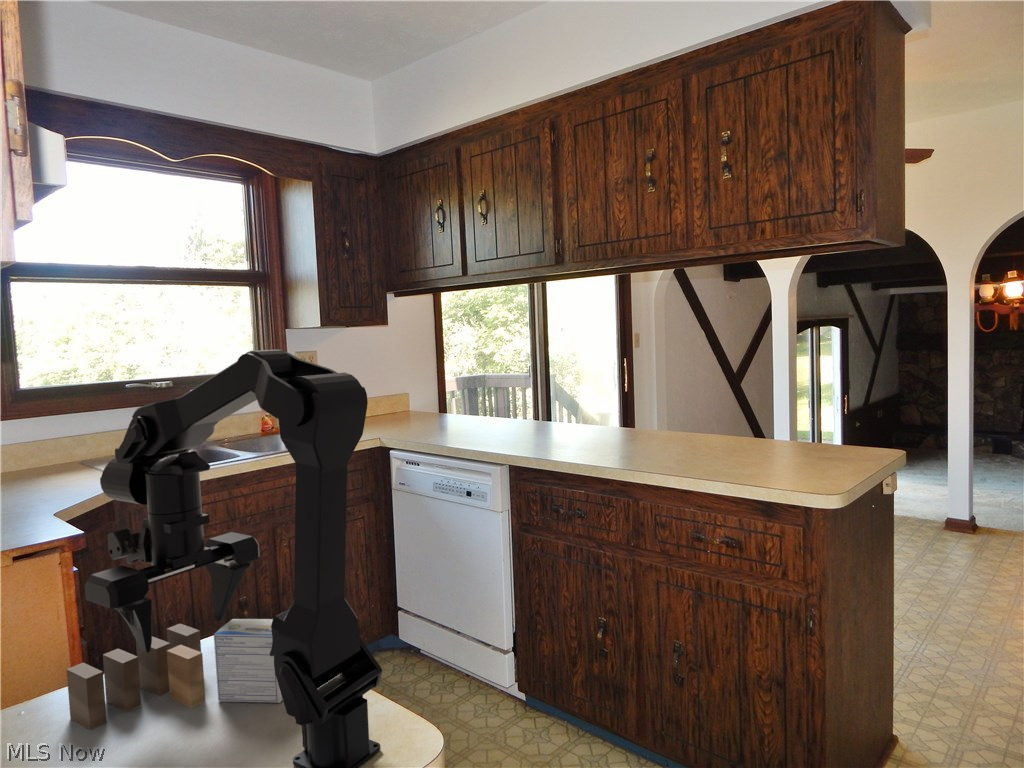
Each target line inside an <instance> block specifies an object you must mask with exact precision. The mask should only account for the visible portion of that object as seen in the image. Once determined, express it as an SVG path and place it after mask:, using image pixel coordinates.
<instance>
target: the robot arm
mask: <svg viewBox="0 0 1024 768" xmlns="http://www.w3.org/2000/svg"><path fill="white" fill-rule="evenodd" d="M255 401H257V402H258V403H257V404H258V406H259V408H260V409H261V410H263V411H265V412H266V413H268V414H269V415H271V416H273V417H274V418H275V419H277V420H278V428H279V436H280V437H279V438H280V440H281V442H282V443H283V445H284V446H285V448H286V450H287V451H288V453H289V455H290V456H291V458H292V460H293V461H294V463H295V507H294V509H295V513H294V515H295V516H294V517H295V518H294V571H293V572H294V574H293V575H294V577H293V578H294V581H293V586H294V587H293V602H292V603H291V606H290V607H289V609H288V610H287V609H286V610H285V611H283V612H280V613H279V614H277V615H275V616H273V618H272V619H273V621H272V625H271V630H272V648H271V651H270V656H274V669H275V674H276V678H277V681H278V685H279V688H280V691H281V695H282V698H283V700H282V701H283V704H284V707H285V711H286V714H287V715H288V716H290V717H293V718H294V719H295V724H296V725H300V726H301V735H302V736H301V737H302V747H303V748H304V750H302V751H301V752H300V753H298V754H297V755H294V757H293V758H292V764H293V766H295V767H298V768H360V766H362V765H363V764H364V763H366V762H368V760H369V759H371V758H372V757H373V756H375V755H376V754H378V752H380V751H381V749H382V748H381V744H380V743H379V742H377V741H375V740H372V739H370V733H369V732H370V731H369V730H370V729H369V726H370V725H369V709H368V708H369V705H368V698H365V697H364V695H365V694H367V693H368V692H369V691H371V690H373V689H374V688H377V687H378V686H379V685H380V681H381V678H382V674H383V669H382V667H381V666H380V664H379V662H378V661H377V660H376V659H375V657H374V655H373V654H372V652H371V651H370V650H369V648H368V647H367V646H366V644H365V643H364V641H363V640H362V638H361V637H360V629H359V620H358V616H357V614H356V613H355V611H354V610H353V608H352V607H351V605H350V604H349V602H348V601H347V599H346V597H345V581H346V580H345V579H346V578H345V575H346V573H345V572H346V540H347V539H346V538H347V537H346V535H347V534H346V533H347V503H348V502H347V499H348V498H347V497H348V495H347V494H348V491H347V490H348V467H349V466H348V465H349V460H350V459H351V457H352V455H353V453H354V451H355V449H356V448H357V447H358V446H357V445H358V444H359V442H360V440H361V438H362V436H363V434H364V429H365V424H366V417H367V412H368V411H367V410H368V403H369V402H368V393H367V391H366V387H364V386H362V384H361V382H360V381H359V380H358V379H357V378H356V377H355V376H354V375H352V374H351V373H348V372H337V371H335V370H334V369H331V368H328V367H326V366H322V365H319V364H316V363H314V362H310V361H307V360H305V359H300V358H299V357H297V356H295V355H294V354H292V353H290V352H287V351H285V350H283V349H262V350H261V349H260V350H259V349H258V350H249V351H247V352H245V353H244V354H241V355H240V356H239V357H238V358H237V360H236V362H233V363H232V364H230V365H229V366H227V367H226V368H224V369H222V370H221V371H219V372H218V373H216V374H215V375H213V376H211V377H210V378H208V379H206V380H205V381H203V382H202V383H200V384H199V385H197V386H196V387H194V388H192V389H190V390H189V391H188V392H185V393H184V394H183V395H181V396H177V397H174V398H168V399H163V400H160V401H159V400H158V401H155V402H151V403H148V404H145V405H142V406H140V407H138V408H136V410H135V411H134V412H133V414H132V416H131V417H132V418H131V420H130V422H129V423H128V427H127V430H126V432H125V435H124V438H123V441H122V442H121V444H120V446H119V447H116V448H115V449H114V458H112V459H111V460H110V461H109V462H108V463H107V464H106V465H105V466H104V469H103V471H102V472H101V476H100V478H99V481H100V482H99V484H100V488H101V490H102V491H103V493H104V495H105V496H106V497H108V498H109V499H112V500H115V501H119V502H126V503H131V504H136V505H142V506H145V505H146V506H147V517H145V518H142V519H141V521H142V522H140V523H141V524H140V525H141V531H139V532H135V533H132V532H131V529H129V528H123V529H120V530H116V531H112V532H110V533H108V534H107V550H108V554H109V557H110V558H111V560H113V561H114V560H118V559H121V558H126V562H127V564H128V565H129V564H133V563H136V562H138V560H139V563H142V564H149V563H150V564H151V565H150V566H147V567H143V568H140V569H137V568H136V569H135V568H132V567H128V566H126V565H118V566H115V567H112V568H109V569H105V570H102V571H99V572H98V571H97V572H94V573H92V574H90V575H89V577H88V579H87V580H86V583H85V584H84V596H85V601H88V602H90V603H93V604H96V605H99V606H101V607H104V608H107V609H110V610H112V609H114V610H116V611H117V612H119V613H120V615H121V616H122V618H123V619H124V621H125V622H126V624H127V625H128V627H129V629H130V631H131V633H132V635H133V637H134V639H135V642H136V641H137V643H138V644H139V646H140V648H141V650H142V651H143V652H145V653H148V652H150V650H151V643H152V636H153V599H152V598H148V597H145V596H146V595H147V594H148V592H149V591H150V587H149V585H151V584H154V583H157V582H159V581H163V580H166V579H168V578H172V577H175V576H177V575H181V574H183V573H186V572H189V571H193V570H195V569H199V568H202V567H204V566H205V567H206V570H207V571H208V574H209V576H210V587H211V603H212V604H211V606H212V607H211V608H212V615H213V619H214V621H215V622H216V623H221V622H223V621H224V620H223V619H224V617H225V615H226V612H227V611H228V608H229V606H230V603H231V601H232V598H233V596H234V594H235V592H236V589H238V585H239V584H240V582H241V580H242V578H243V576H244V574H245V572H246V570H248V569H250V568H251V567H252V561H255V560H258V559H259V558H260V555H261V554H260V544H259V542H258V540H257V539H256V538H255V536H253V535H248V534H243V533H238V532H233V531H229V532H227V533H224V534H220V535H217V536H214V537H211V538H208V539H207V541H206V543H205V539H204V538H205V534H204V525H207V524H209V523H210V514H209V513H208V514H207V513H203V508H202V507H203V506H202V505H203V504H202V493H201V492H202V490H201V489H202V488H201V477H200V475H201V474H200V473H202V472H207V471H209V470H210V469H211V465H210V464H209V463H208V461H207V460H206V459H204V458H203V457H201V456H200V455H199V454H198V452H197V451H196V450H193V451H191V450H192V449H195V448H198V447H200V446H202V445H203V444H204V443H205V442H207V440H208V439H209V438H210V437H211V436H213V434H214V433H215V426H216V425H217V424H218V423H219V422H220V421H223V420H224V419H225V418H227V417H229V416H231V415H233V414H234V413H236V412H238V411H239V410H241V409H243V408H245V407H247V406H249V405H250V404H252V403H253V402H255ZM176 455H177V456H176Z"/></svg>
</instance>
